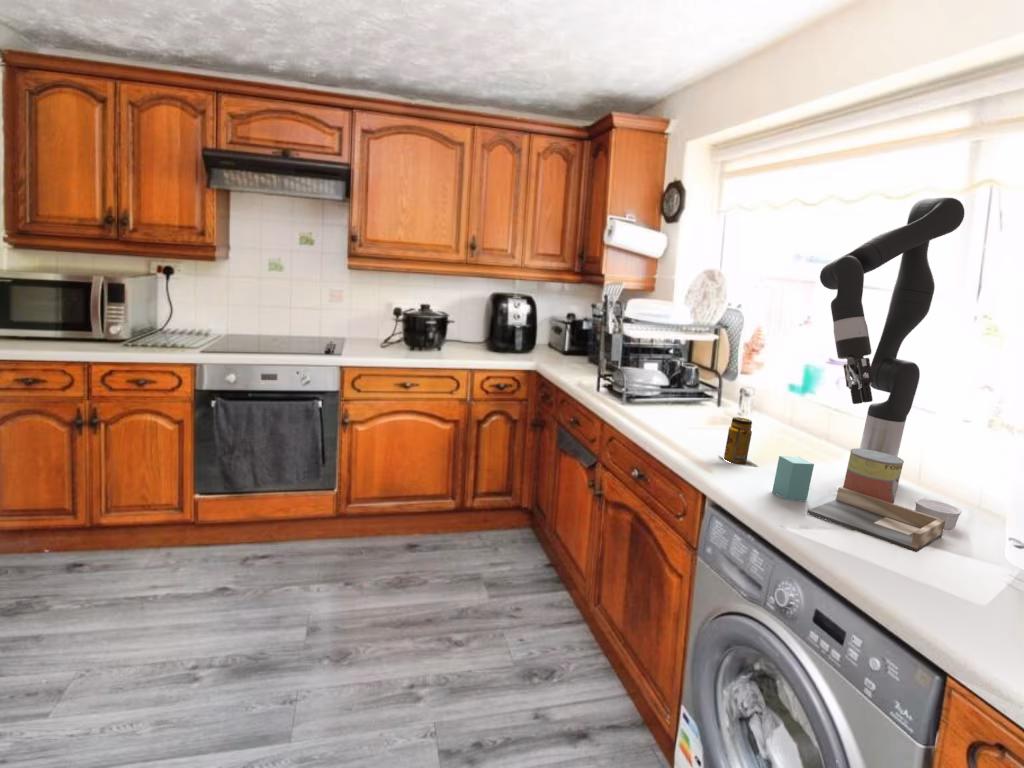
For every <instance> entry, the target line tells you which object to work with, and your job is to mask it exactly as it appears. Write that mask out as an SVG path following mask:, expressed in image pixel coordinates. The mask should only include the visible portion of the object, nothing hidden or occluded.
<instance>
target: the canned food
mask: <svg viewBox="0 0 1024 768" xmlns="http://www.w3.org/2000/svg"><path fill="white" fill-rule="evenodd" d="M904 463H905V461H904V460H903V458H900V457H896V456H893V455H890V454H887V453H883V452H879V451H874V450H868V449H860V448H851V449H850V453H849V459H848V463H847V466H846V467H847V468H846V472H845V477H844V482H843V486H842V488H846V489H849V490H852V491H855V492H858V493H861V494H864V495H867V496H871V497H874V498H877V499H880V500H883V501H886V502H889V503H893V504H895V500H896V495H897V492H898V491H897V490H898V487H899V482H900V478H901V475H902V469H903V465H904Z"/></svg>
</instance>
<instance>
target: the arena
mask: <svg viewBox="0 0 1024 768" xmlns="http://www.w3.org/2000/svg"><path fill="white" fill-rule="evenodd" d="M808 513H809V514H808ZM806 514H808V515H811V516H813V515H814V517H816V516H817V518H819V517H820V519H822V518H823V519H822V520H824V519H826V520H825V521H827V520H828V521H827V522H830V521H831V522H830V523H833V524H836V525H838V524H839V526H841V527H845V528H847V529H849V530H853V531H856V532H858V533H861V534H864V535H867V536H870V537H872V538H874V539H877V540H881V541H884V542H886V543H889V544H892V545H895V546H897V547H900V548H902V549H906V550H908V551H911V552H915V553H918V552H919V551H921V550H923V549H924V548H926V547H927V546H929V545H931V544H933V543H934V542H936V541H937V540H940V539H941V538H942V536H943V532H944V530H943V529H944V525H945V521H946V520H943V519H940V518H937V517H933V516H930V515H927V514H924V513H921V512H918V511H915V509H912V508H908V507H904V506H902V505H898V504H896V503H894V504H893V503H889V502H886V501H883V500H880V499H877V498H874V497H871V496H867V495H864V494H861V493H858V492H855V491H852V490H849V489H846V488H843V486H839V487H838V489H837V493H836V498H835V500H834V499H833V500H831V501H828V502H826V503H822V504H821V505H818V506H815V507H812V508H809V509H808V510H807V513H806Z"/></svg>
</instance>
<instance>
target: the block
mask: <svg viewBox="0 0 1024 768" xmlns="http://www.w3.org/2000/svg"><path fill="white" fill-rule="evenodd" d="M814 467H815V464H814V463H812V462H811V461H809V460H807V459H805V458H803V457H800V456H792V455H791V456H789V455H788V456H787V455H779V456H778V462H777V465H776V472H775V477H774V480H773V482H774V483H773V487H772V493H774V494H776V495H777V496H779V497H780V498H782V499H784V500H786V501H800V500H807V501H808V496H809V491H810V486H811V482H812V475H813V472H814Z"/></svg>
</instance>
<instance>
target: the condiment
mask: <svg viewBox="0 0 1024 768" xmlns="http://www.w3.org/2000/svg"><path fill="white" fill-rule="evenodd" d="M752 425H753V421H752V420H751V419H749V418H746V417H745V418H744V417H739V416H736V417H735V416H734V417H732V419H731V424H730V426H729V427H728V431H727V432H728V433H727V439H726V442H725V443H726V445H725V448H724V454H723V455H724V456H723V457H724V459H725V460H727V461H729V462H731V463H733V464H732V465H736V466H737V465H738V466H740V465H741V466H754V467H755V466H756V467H759V465H757V464H756V463H754V462H753V461H751V460H749V458H748V456H749V449H750V444H751V440H752V434H753V433H752V432H753V431H752Z"/></svg>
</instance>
